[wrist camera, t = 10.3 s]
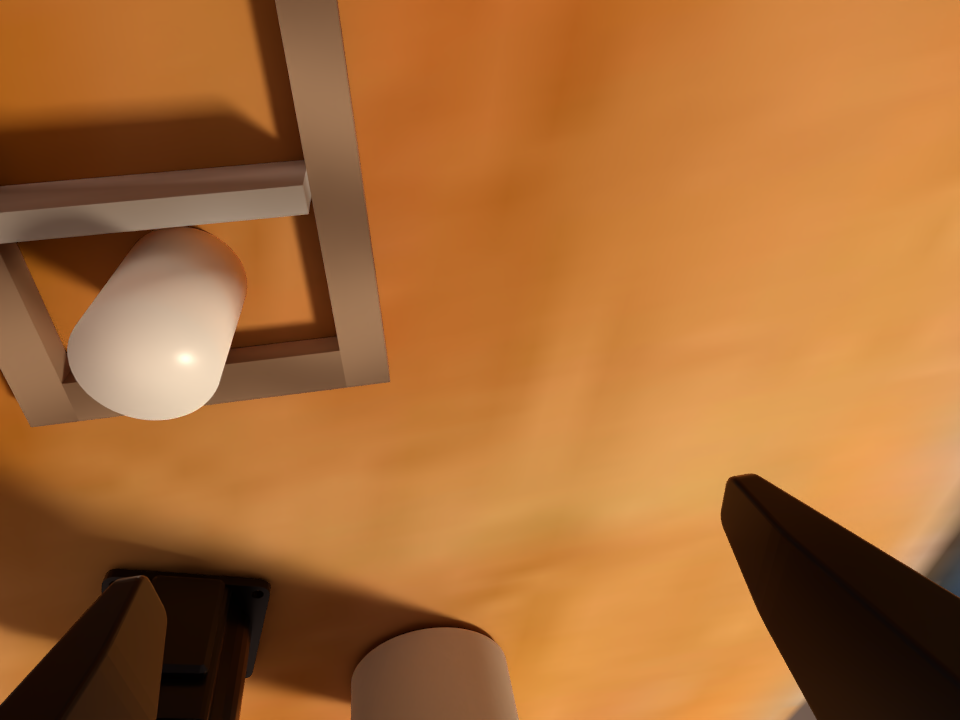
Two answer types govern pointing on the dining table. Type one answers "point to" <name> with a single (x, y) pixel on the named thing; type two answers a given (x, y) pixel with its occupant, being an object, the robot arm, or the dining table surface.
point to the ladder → (215, 199)
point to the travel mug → (434, 678)
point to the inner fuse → (161, 326)
